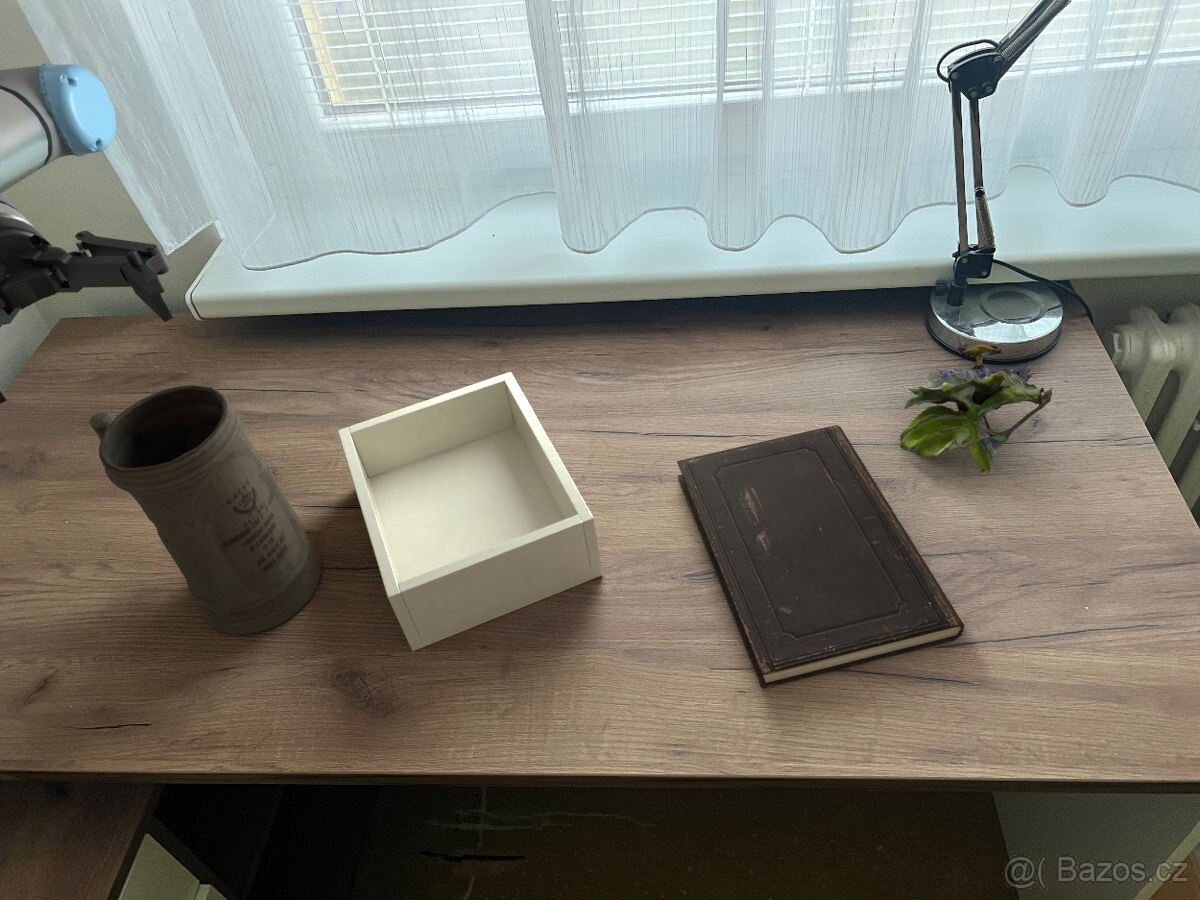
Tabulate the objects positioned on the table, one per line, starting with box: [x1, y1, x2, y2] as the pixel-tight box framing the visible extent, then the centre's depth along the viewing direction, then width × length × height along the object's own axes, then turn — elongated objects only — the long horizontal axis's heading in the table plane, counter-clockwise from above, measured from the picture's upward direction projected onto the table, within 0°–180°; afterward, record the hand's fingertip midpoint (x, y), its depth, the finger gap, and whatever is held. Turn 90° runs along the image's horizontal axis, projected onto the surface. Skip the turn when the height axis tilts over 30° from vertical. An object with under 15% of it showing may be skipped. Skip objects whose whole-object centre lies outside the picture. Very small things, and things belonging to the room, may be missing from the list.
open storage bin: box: [337, 371, 604, 652], centre depth 78 cm, size 17×21×8 cm
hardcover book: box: [676, 424, 965, 689], centre depth 74 cm, size 16×23×2 cm
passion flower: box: [899, 343, 1053, 473], centre depth 79 cm, size 11×11×12 cm
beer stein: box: [89, 384, 322, 635], centre depth 72 cm, size 15×11×20 cm
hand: (80, 346), depth 69 cm, fingers open, 13 cm apart
